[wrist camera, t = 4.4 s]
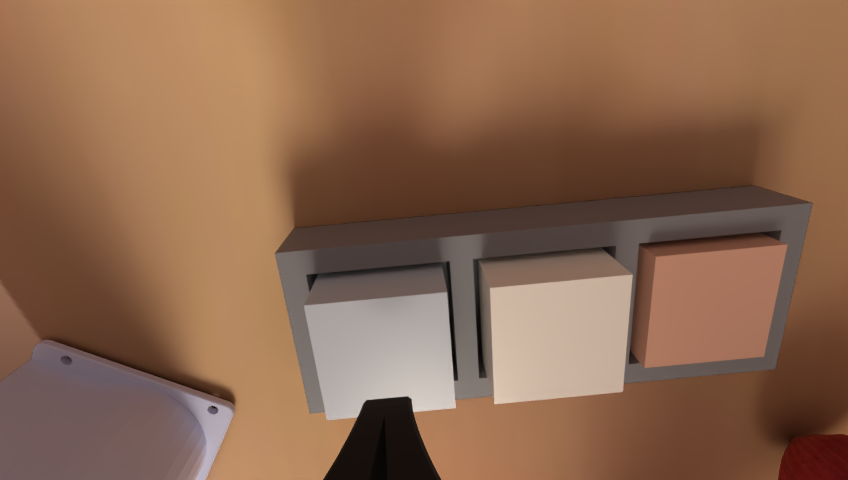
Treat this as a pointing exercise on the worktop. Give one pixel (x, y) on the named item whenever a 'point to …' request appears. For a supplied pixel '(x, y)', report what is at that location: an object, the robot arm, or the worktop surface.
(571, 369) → the cream key
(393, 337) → the light gray key
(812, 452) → the onion
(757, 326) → the terracotta key
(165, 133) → the worktop surface
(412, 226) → the key panel
